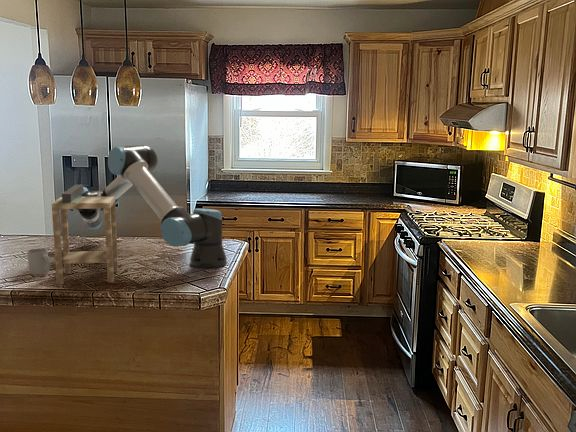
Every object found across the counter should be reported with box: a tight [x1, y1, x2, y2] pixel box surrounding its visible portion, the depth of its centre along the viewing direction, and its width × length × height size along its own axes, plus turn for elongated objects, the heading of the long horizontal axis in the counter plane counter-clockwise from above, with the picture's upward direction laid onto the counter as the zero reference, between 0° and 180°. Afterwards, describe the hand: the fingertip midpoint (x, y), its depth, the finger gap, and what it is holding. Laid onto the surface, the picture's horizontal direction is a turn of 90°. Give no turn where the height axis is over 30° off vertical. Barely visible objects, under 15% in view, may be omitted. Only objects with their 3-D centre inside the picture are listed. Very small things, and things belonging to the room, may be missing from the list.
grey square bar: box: [61, 184, 84, 202], centre depth 220 cm, size 3×26×3 cm, turn 10°
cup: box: [27, 248, 51, 276], centre depth 225 cm, size 7×10×9 cm
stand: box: [51, 196, 119, 285], centre depth 218 cm, size 20×16×30 cm
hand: (80, 194), depth 236 cm, fingers open, 13 cm apart
